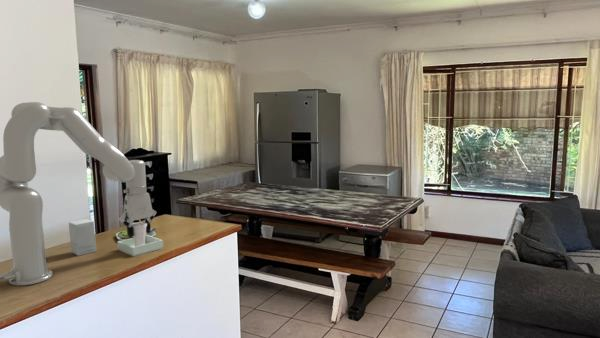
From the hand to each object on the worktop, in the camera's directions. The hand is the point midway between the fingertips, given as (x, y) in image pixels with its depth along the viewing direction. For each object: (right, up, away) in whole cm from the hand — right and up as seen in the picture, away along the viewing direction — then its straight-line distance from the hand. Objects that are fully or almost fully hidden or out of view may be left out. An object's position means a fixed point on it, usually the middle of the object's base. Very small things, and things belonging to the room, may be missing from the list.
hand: (139, 233), depth 180 cm
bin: (0, -6, +1) cm, 7 cm away
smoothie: (0, -6, +1) cm, 6 cm away
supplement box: (-22, -7, -1) cm, 23 cm away
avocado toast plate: (-8, -5, +20) cm, 22 cm away
